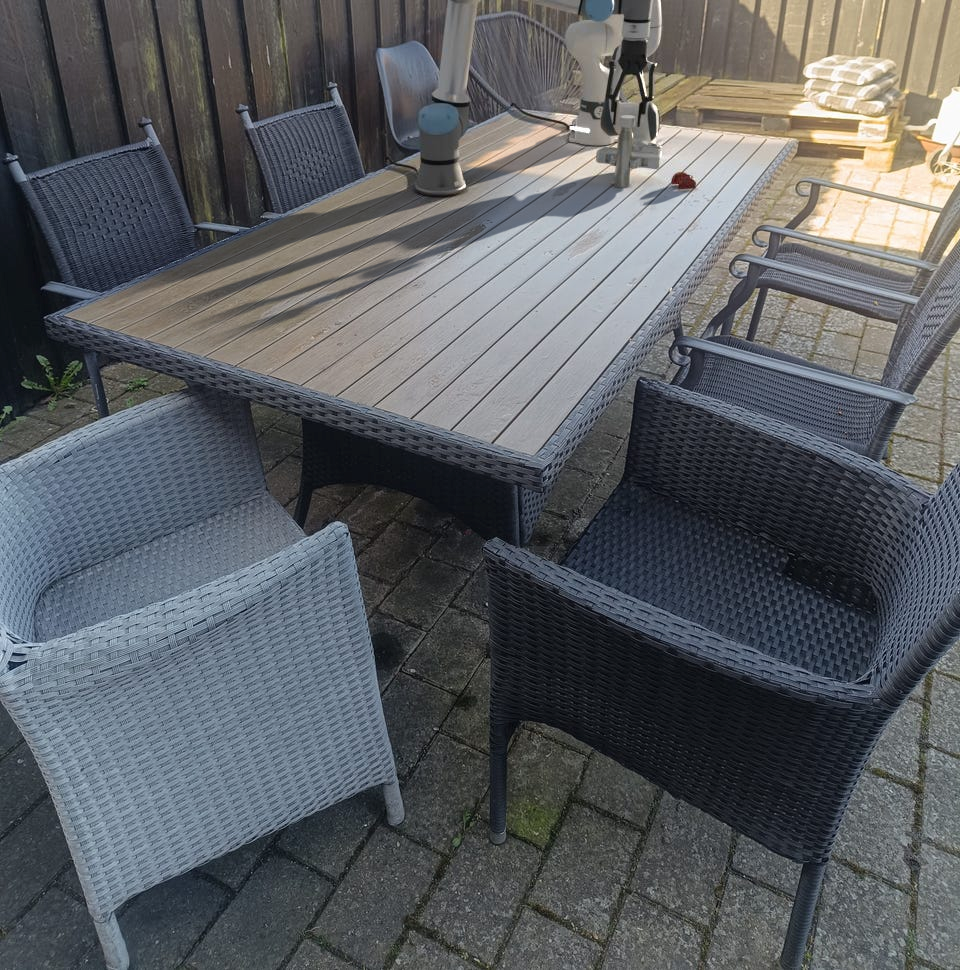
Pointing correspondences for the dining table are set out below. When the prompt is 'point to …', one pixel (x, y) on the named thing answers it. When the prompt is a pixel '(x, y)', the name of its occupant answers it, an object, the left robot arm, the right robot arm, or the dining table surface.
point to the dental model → (683, 180)
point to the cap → (627, 121)
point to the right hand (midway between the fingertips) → (622, 164)
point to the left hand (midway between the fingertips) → (627, 124)
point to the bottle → (623, 157)
